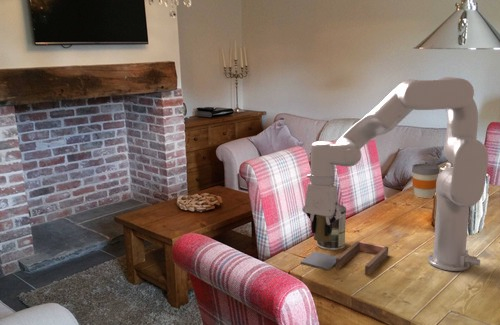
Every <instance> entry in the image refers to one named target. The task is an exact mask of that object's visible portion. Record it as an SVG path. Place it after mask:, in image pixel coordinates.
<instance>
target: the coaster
mask: <svg viewBox="0 0 500 325" xmlns="http://www.w3.org/2000/svg"><path fill="white" fill-rule="evenodd" d="M337 257H338V256H336V255H332V254H327V253H324V252H319V251H313V252H312V253H311V254H309V255H308V256H306V257H305V258H303V259H302V260H301V261H300V264H302V265H306V266H310V267H314V268H319V269H321V270H324V271H325V270H326V271H330V270H331V269H332V268H333V267H334V266H336V258H337Z"/></svg>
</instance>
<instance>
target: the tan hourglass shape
mask: <svg viewBox="0 0 500 325" xmlns="http://www.w3.org/2000/svg"><path fill="white" fill-rule="evenodd" d="M316 216H317V220H316V228H315V233H314V235H313V240H315V241H316V242H317V241H320V242H328V241H331V240H332V236H331V234H330V235H328V236H325V225H326V217H325V216H320V215H316Z"/></svg>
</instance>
